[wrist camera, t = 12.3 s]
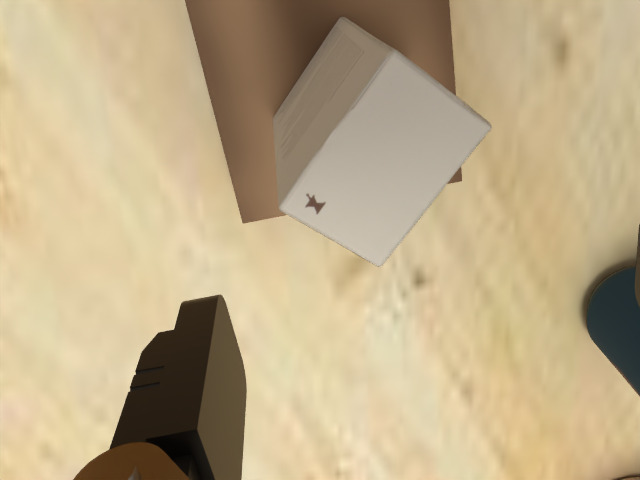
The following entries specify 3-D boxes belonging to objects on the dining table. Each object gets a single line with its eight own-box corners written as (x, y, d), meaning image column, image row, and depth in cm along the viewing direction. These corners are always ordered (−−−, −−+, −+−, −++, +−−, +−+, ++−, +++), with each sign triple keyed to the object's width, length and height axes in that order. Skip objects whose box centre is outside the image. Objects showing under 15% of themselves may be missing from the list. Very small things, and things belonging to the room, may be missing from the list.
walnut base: (423, -65, 30) (444, -68, 26) (442, 158, 35) (461, 180, 31) (191, -19, 30) (180, -16, 26) (245, 196, 35) (242, 223, 31)
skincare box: (339, 163, 30) (378, 275, 20) (270, 117, 29) (271, 211, 18) (412, 64, 28) (499, 127, 18) (341, 10, 27) (389, 44, 16)
